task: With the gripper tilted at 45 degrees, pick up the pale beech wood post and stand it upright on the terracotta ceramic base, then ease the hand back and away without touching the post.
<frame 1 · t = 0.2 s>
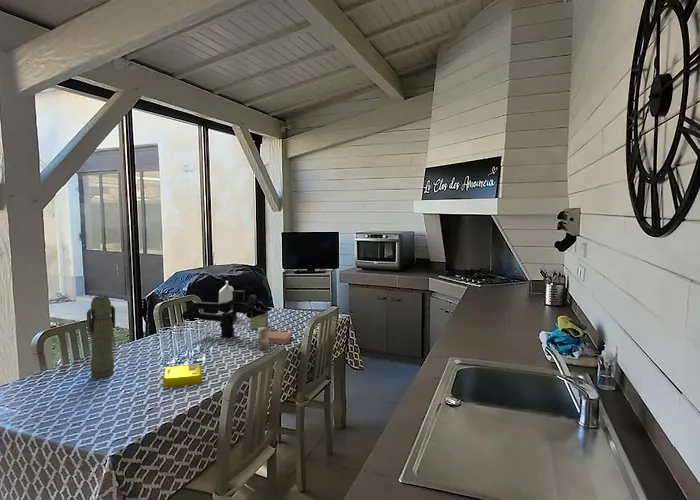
hand: (268, 310, 255), 17 cm above the table, tool horizontal, fingers open, 9 cm apart
thermos: (102, 375, 194), on the table
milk: (226, 318, 305), on the table
box: (259, 328, 281), on the table
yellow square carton: (182, 381, 191), on the table
post: (263, 348, 238), on the table
base: (277, 340, 255), on the table
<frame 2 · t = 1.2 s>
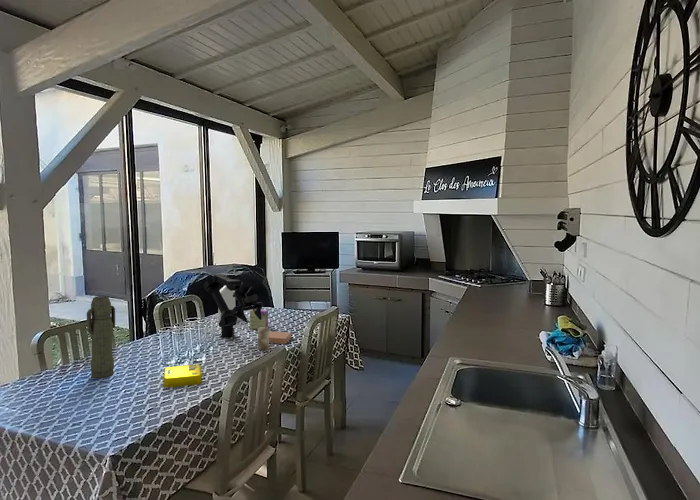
hand: (254, 321, 243), 14 cm above the table, tool tilted 45°, fingers open, 9 cm apart
nothing on the table moved.
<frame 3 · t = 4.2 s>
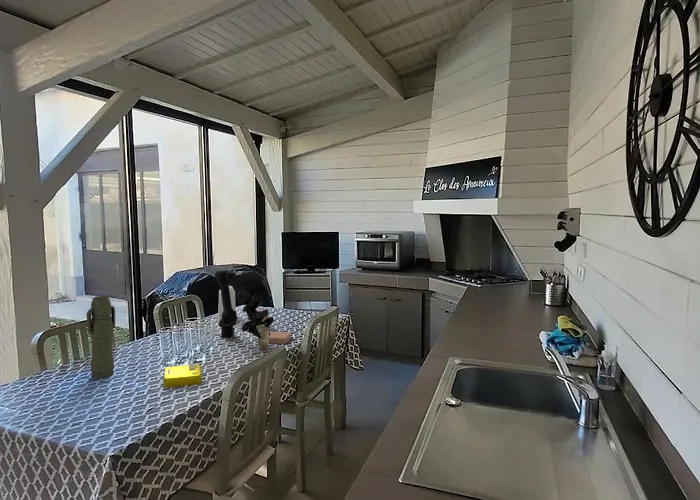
hand: (265, 336, 237), 7 cm above the table, tool tilted 45°, fingers closed on post, 6 cm apart
post: (263, 348, 238), on the table, touching gripper
everything else where it was.
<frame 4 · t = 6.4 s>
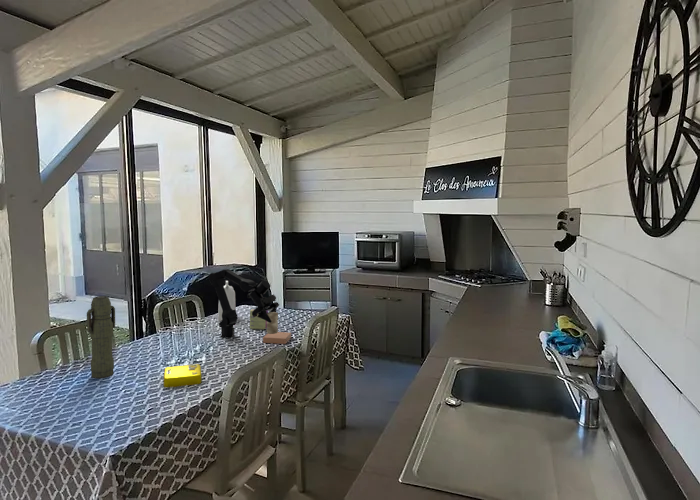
hand: (274, 321, 244), 13 cm above the table, tool tilted 45°, fingers closed on post, 6 cm apart
post: (272, 332, 245), point 7 cm above the table, touching gripper
everything else where it was.
when the fingers open (10 cm above the table, at t = 8.7 s): post stays where it is, resting on base.
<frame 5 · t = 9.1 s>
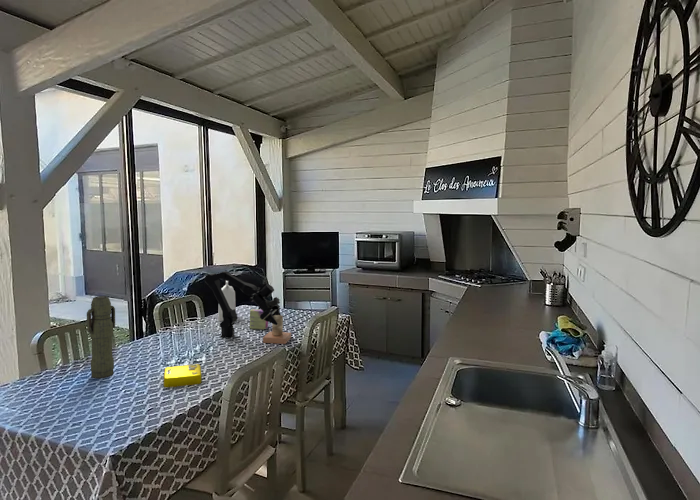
hand: (279, 322, 254), 10 cm above the table, tool tilted 45°, fingers open, 9 cm apart
post: (277, 334, 255), point 3 cm above the table, touching base
everything else where it was.
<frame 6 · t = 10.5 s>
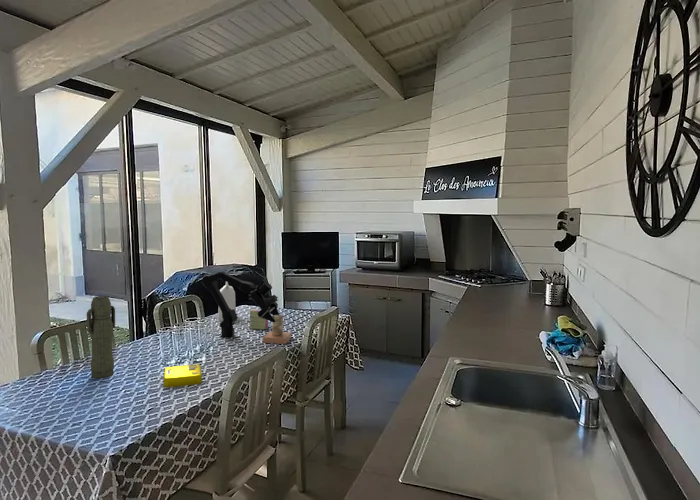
hand: (277, 320, 254), 12 cm above the table, tool tilted 45°, fingers open, 9 cm apart
nothing on the table moved.
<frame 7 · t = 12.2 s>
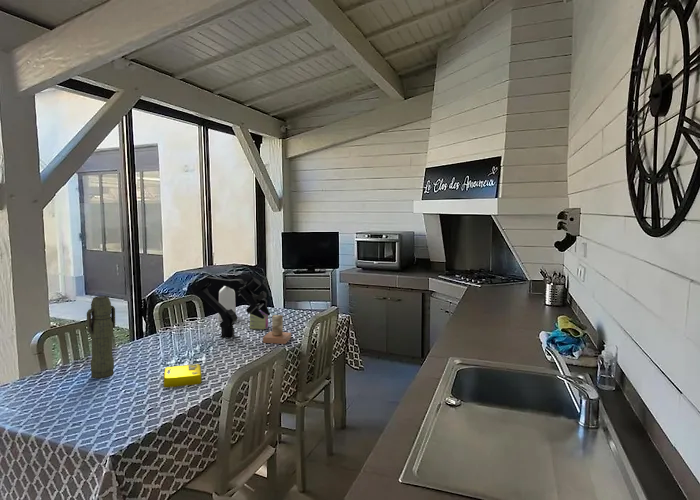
hand: (266, 316, 255), 13 cm above the table, tool tilted 45°, fingers open, 9 cm apart
nothing on the table moved.
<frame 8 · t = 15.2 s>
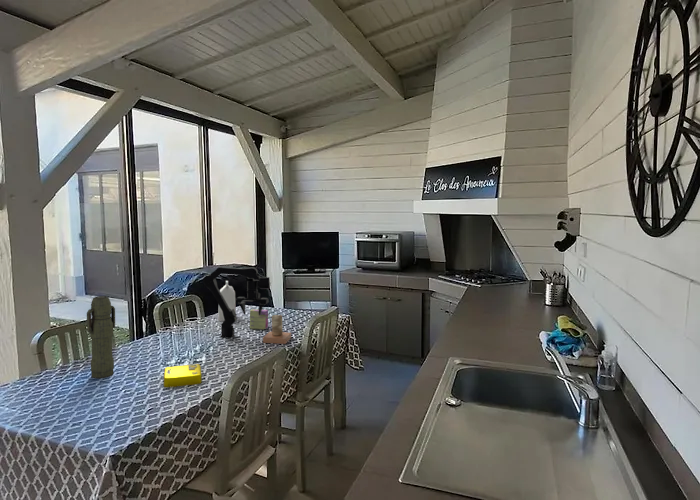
hand: (252, 314, 261), 13 cm above the table, tool pointing down, fingers open, 9 cm apart
nothing on the table moved.
at the end: post 0.1 cm off-centre on the base, point 3.1 cm above the base's base; post tilted 2°; the gripper is holding nothing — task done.
